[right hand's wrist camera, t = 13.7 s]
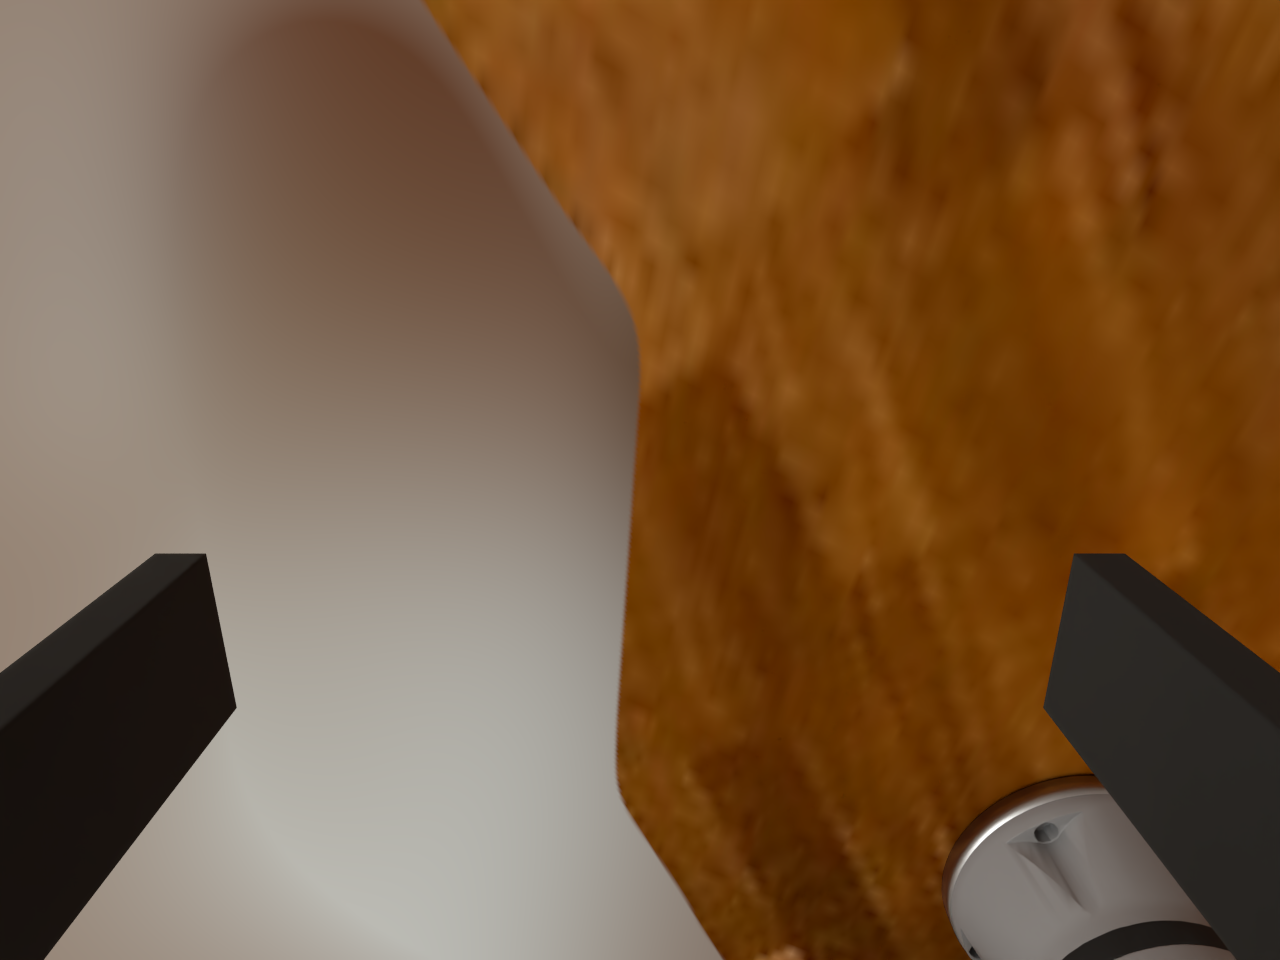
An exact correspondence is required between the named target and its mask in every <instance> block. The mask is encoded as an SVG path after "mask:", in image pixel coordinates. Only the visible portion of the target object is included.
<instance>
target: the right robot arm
mask: <svg viewBox="0 0 1280 960" xmlns="http://www.w3.org/2000/svg"><path fill="white" fill-rule="evenodd" d="M1043 708H1044V709H1045V710H1046V712H1047V713H1048V714H1049V716H1050V717H1051V718H1052V720H1053V721H1054V722H1055V723H1056V725H1057V726H1058V727H1059V729H1060V730H1061V731H1062V733H1063V734H1064V735H1065V737H1066V738H1067V739H1068V740H1069V742H1070V743H1071V744H1072V746H1073V747H1074V748H1075V750H1076V751H1077V752H1078V754H1079V755H1080V756H1081V757H1082V759H1083V760H1084V761H1085V763H1086V764H1087V765H1088V767H1089V768H1090V769H1091V771H1092V772H1093V773H1094V774H1095V776H1071V777H1064V778H1058V779H1053V780H1049V781H1045V782H1041V783H1038V784H1035V785H1032V786H1029V787H1026V788H1024V789H1021V790H1019V791H1017V792H1015V793H1013V794H1011V795H1009V796H1007V797H1005V798H1003V799H1002V800H1000V801H998V802H997V803H995V804H994V805H992V806H991V807H989V808H988V809H987V810H985V811H984V812H983V813H982V814H981V815H979V816H978V817H977V818H976V819H975V820H974V821H973V822H972V823H971V824H970V825H969V826H968V827H967V828H966V829H965V831H964V832H963V833H962V834H961V836H960V837H959V839H958V840H957V841H956V843H955V845H954V846H953V848H952V850H951V852H950V854H949V856H948V859H947V861H946V865H945V868H944V872H943V877H942V898H943V903H944V907H945V910H946V912H947V915H948V918H949V920H950V922H951V925H952V927H953V929H954V932H955V934H956V936H957V938H958V940H959V942H960V944H961V945H962V946H963V948H964V949H965V951H966V952H967V954H968V955H969V957H970V958H971V959H972V960H1280V673H1279V672H1278V671H1277V670H1275V669H1274V668H1273V667H1271V666H1270V665H1269V664H1267V663H1266V662H1265V661H1264V660H1262V659H1261V658H1260V657H1258V656H1257V655H1256V654H1254V653H1253V652H1252V651H1251V650H1249V649H1248V648H1247V647H1245V646H1244V645H1243V644H1241V643H1240V642H1239V641H1238V640H1236V639H1235V638H1234V637H1232V636H1231V635H1230V634H1228V633H1227V632H1226V631H1225V630H1223V629H1222V628H1221V627H1219V626H1218V625H1217V624H1215V623H1214V622H1213V621H1212V620H1210V619H1209V618H1208V617H1206V616H1205V615H1204V614H1202V613H1201V612H1200V611H1199V610H1197V609H1196V608H1195V607H1193V606H1192V605H1191V604H1189V603H1188V602H1187V601H1186V600H1184V599H1183V598H1182V597H1180V596H1179V595H1178V594H1177V593H1175V592H1174V591H1173V590H1171V589H1170V588H1169V587H1167V586H1166V585H1165V584H1164V583H1162V582H1161V581H1160V580H1158V579H1157V578H1156V577H1154V576H1153V575H1152V574H1151V573H1149V572H1148V571H1147V570H1145V569H1144V568H1143V567H1141V566H1140V565H1139V564H1138V563H1136V562H1135V561H1134V560H1132V559H1131V558H1130V557H1128V556H1127V555H1126V554H1074V557H1073V562H1072V567H1071V572H1070V577H1069V582H1068V587H1067V592H1066V597H1065V602H1064V607H1063V612H1062V617H1061V622H1060V627H1059V632H1058V637H1057V642H1056V647H1055V652H1054V657H1053V662H1052V667H1051V672H1050V677H1049V682H1048V687H1047V692H1046V697H1045V702H1044V707H1043ZM235 709H236V702H235V697H234V692H233V687H232V682H231V677H230V672H229V667H228V662H227V657H226V652H225V647H224V642H223V637H222V632H221V627H220V622H219V617H218V612H217V607H216V602H215V597H214V592H213V587H212V582H211V577H210V572H209V567H208V562H207V557H206V554H154V555H153V556H152V557H150V558H149V559H148V560H146V561H145V562H144V563H142V564H141V565H140V566H139V567H137V568H136V569H135V570H133V571H132V572H131V573H130V574H128V575H127V576H126V577H124V578H123V579H122V580H120V581H119V582H118V583H116V584H115V585H114V586H113V587H111V588H110V589H109V590H107V591H106V592H105V593H103V594H102V595H101V596H100V597H98V598H97V599H96V600H94V601H93V602H92V603H91V604H89V605H88V606H87V607H85V608H84V609H83V610H81V611H80V612H79V613H78V614H76V615H75V616H74V617H72V618H71V619H70V620H68V621H67V622H66V623H65V624H63V625H62V626H61V627H59V628H58V629H57V630H55V631H54V632H53V633H52V634H50V635H49V636H48V637H46V638H45V639H44V640H42V641H41V642H40V643H39V644H37V645H36V646H35V647H33V648H32V649H31V650H29V651H28V652H27V653H26V654H24V655H23V656H22V657H20V658H19V659H18V660H17V661H15V662H14V663H13V664H11V665H10V666H9V667H7V668H6V669H5V670H3V671H2V672H1V673H0V960H44V959H45V957H46V956H47V955H48V953H49V952H50V951H51V950H52V948H53V947H54V946H55V944H56V943H57V942H58V940H59V939H60V938H61V936H62V935H63V934H64V933H65V931H66V930H67V929H68V927H69V926H70V925H71V923H72V922H73V921H74V920H75V918H76V917H77V916H78V914H79V913H80V912H81V910H82V909H83V908H84V906H85V905H86V904H87V903H88V901H89V900H90V899H91V897H92V896H93V895H94V893H95V892H96V891H97V889H98V888H99V887H100V886H101V884H102V883H103V882H104V880H105V879H106V878H107V876H108V875H109V874H110V872H111V871H112V870H113V868H114V867H115V866H116V865H117V863H118V862H119V861H120V859H121V858H122V857H123V855H124V854H125V853H126V852H127V850H128V849H129V848H130V846H131V845H132V844H133V842H134V841H135V840H136V838H137V837H138V836H139V835H140V833H141V832H142V831H143V829H144V828H145V827H146V825H147V824H148V823H149V821H150V820H151V819H152V818H153V816H154V815H155V814H156V812H157V811H158V810H159V808H160V807H161V806H162V804H163V803H164V802H165V801H166V799H167V798H168V797H169V795H170V794H171V793H172V791H173V790H174V789H175V787H176V786H177V785H178V784H179V782H180V781H181V780H182V778H183V777H184V776H185V774H186V773H187V772H188V771H189V769H190V768H191V767H192V765H193V764H194V763H195V761H196V760H197V759H198V757H199V756H200V755H201V754H202V752H203V751H204V750H205V748H206V747H207V746H208V744H209V743H210V742H211V740H212V739H213V738H214V737H215V735H216V734H217V733H218V731H219V730H220V729H221V727H222V726H223V725H224V723H225V722H226V721H227V720H228V718H229V717H230V716H231V714H232V713H233V712H234V710H235Z"/></svg>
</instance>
